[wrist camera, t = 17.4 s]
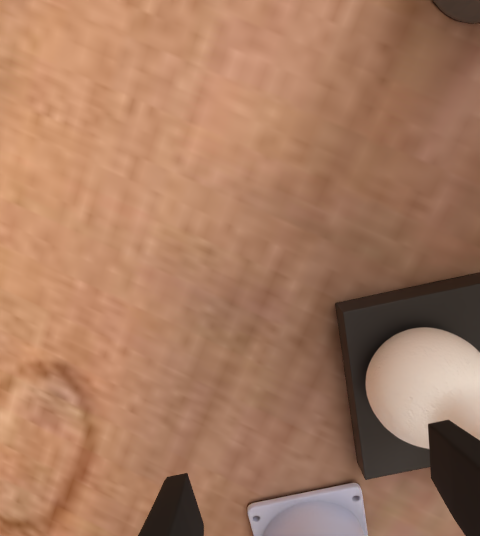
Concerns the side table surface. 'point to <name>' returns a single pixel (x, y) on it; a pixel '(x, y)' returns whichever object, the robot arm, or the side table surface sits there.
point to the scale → (383, 328)
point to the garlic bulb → (425, 383)
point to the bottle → (461, 9)
